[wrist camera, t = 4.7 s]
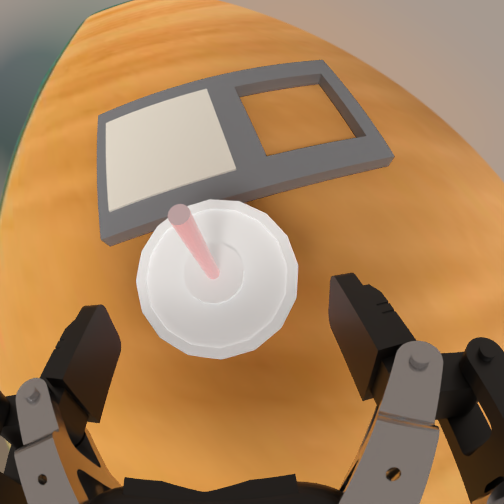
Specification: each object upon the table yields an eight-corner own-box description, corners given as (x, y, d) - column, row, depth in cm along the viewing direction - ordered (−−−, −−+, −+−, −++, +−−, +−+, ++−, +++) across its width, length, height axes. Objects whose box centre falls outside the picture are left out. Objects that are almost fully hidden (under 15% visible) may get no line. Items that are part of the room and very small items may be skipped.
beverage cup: (240, 370, 18) (195, 440, 4) (170, 310, 19) (23, 240, 5) (298, 298, 19) (385, 196, 6) (227, 244, 20) (184, 80, 7)
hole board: (320, 69, 26) (322, 58, 25) (388, 165, 22) (395, 154, 21) (103, 124, 24) (97, 114, 23) (109, 246, 20) (99, 238, 19)
